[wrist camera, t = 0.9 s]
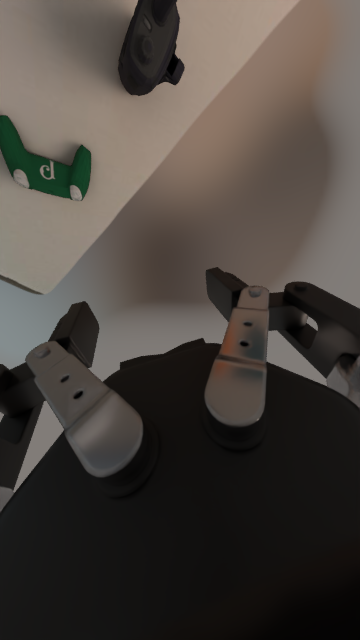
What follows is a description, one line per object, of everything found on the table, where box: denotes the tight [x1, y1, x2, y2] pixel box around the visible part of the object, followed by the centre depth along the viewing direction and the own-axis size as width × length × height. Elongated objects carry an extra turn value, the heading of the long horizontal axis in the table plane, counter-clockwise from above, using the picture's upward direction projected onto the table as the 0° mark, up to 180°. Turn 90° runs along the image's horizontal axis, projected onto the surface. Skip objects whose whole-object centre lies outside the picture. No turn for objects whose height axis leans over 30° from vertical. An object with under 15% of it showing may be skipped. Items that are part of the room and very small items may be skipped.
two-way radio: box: [118, 0, 185, 96], centre depth 15 cm, size 6×4×15 cm
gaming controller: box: [0, 115, 91, 201], centre depth 22 cm, size 9×4×6 cm
